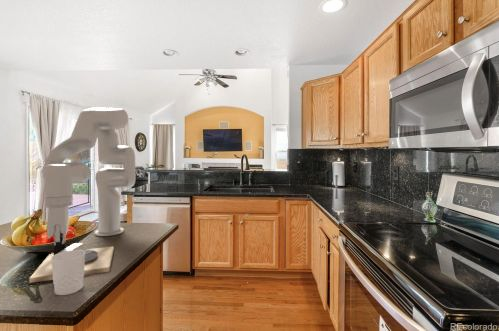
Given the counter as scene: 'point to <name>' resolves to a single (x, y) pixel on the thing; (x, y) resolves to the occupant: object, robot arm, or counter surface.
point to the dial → (89, 254)
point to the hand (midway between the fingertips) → (59, 255)
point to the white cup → (68, 271)
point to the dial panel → (95, 266)
